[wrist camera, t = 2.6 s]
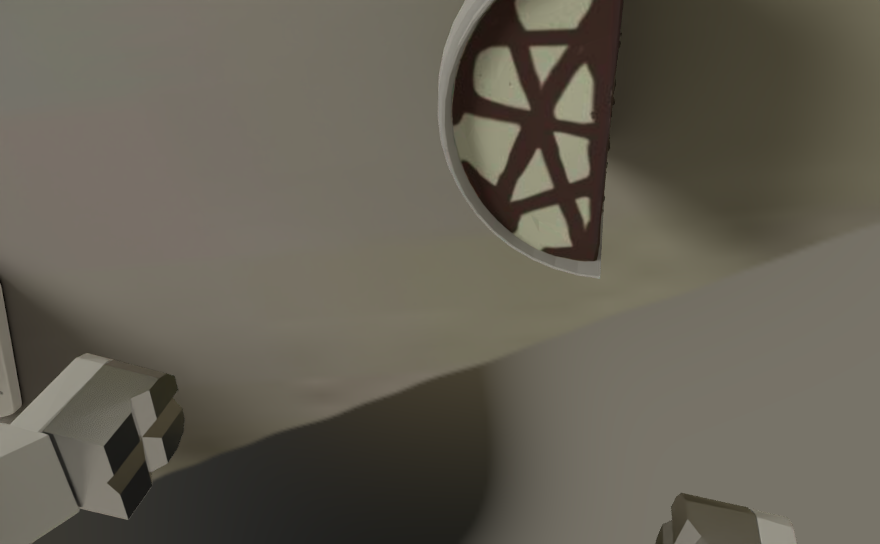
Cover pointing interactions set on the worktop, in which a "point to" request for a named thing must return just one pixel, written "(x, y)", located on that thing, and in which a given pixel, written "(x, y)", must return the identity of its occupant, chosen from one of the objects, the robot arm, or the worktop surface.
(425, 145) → the worktop surface
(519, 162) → the food container
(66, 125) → the worktop surface
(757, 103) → the worktop surface
